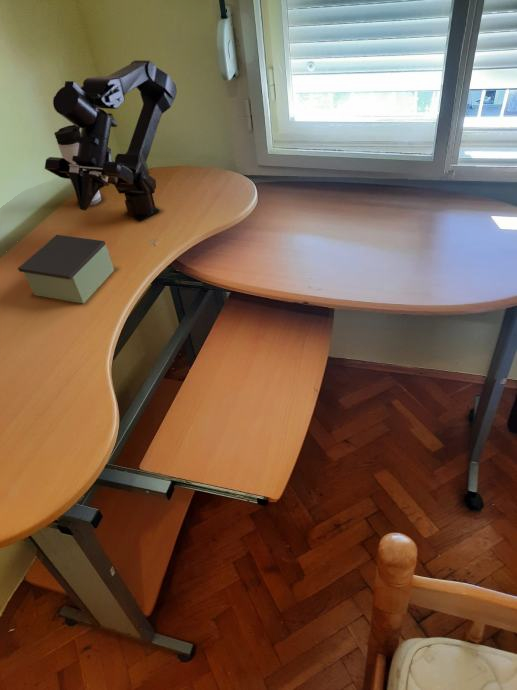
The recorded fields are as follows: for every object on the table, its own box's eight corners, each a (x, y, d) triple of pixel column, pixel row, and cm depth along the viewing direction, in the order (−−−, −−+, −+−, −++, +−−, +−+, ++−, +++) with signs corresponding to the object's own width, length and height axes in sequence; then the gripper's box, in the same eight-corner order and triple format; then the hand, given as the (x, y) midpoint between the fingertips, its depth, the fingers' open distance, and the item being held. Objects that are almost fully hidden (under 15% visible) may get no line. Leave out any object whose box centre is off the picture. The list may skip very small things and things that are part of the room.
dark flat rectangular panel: (70, 279, 91) (69, 276, 90) (19, 271, 94) (17, 268, 94) (105, 244, 100) (104, 240, 99) (57, 237, 103) (56, 234, 102)
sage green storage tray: (83, 303, 96) (72, 277, 91) (34, 295, 99) (21, 269, 95) (114, 270, 104) (105, 244, 100) (68, 263, 108) (57, 237, 103)
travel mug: (96, 207, 127) (71, 131, 113) (75, 206, 128) (47, 131, 114) (106, 196, 132) (83, 122, 118) (85, 195, 133) (60, 122, 119)
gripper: (151, 156, 105) (139, 224, 105) (81, 151, 110) (71, 216, 110) (124, 134, 94) (112, 209, 95) (48, 129, 99) (37, 201, 100)
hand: (83, 210), depth 100 cm, fingers closed
